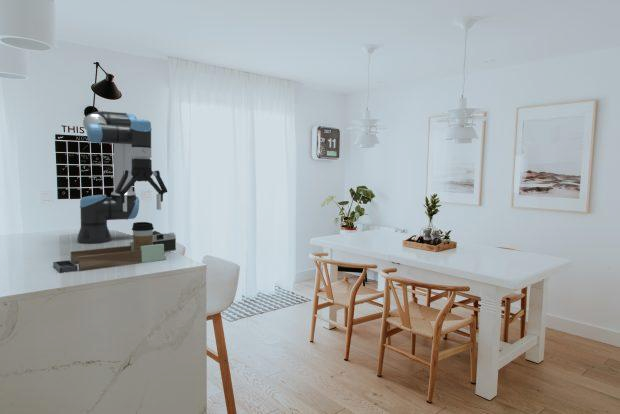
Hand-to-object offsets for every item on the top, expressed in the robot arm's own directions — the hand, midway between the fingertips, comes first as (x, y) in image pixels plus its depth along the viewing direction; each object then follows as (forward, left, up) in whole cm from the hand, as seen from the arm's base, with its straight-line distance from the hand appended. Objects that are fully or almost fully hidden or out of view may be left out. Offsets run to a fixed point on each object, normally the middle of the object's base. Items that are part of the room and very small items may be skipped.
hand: (142, 210), depth 167 cm
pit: (0, -28, -20) cm, 35 cm away
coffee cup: (0, 0, -20) cm, 20 cm away
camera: (-11, +11, -21) cm, 26 cm away
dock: (0, +1, -20) cm, 20 cm away
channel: (0, -14, -20) cm, 25 cm away
